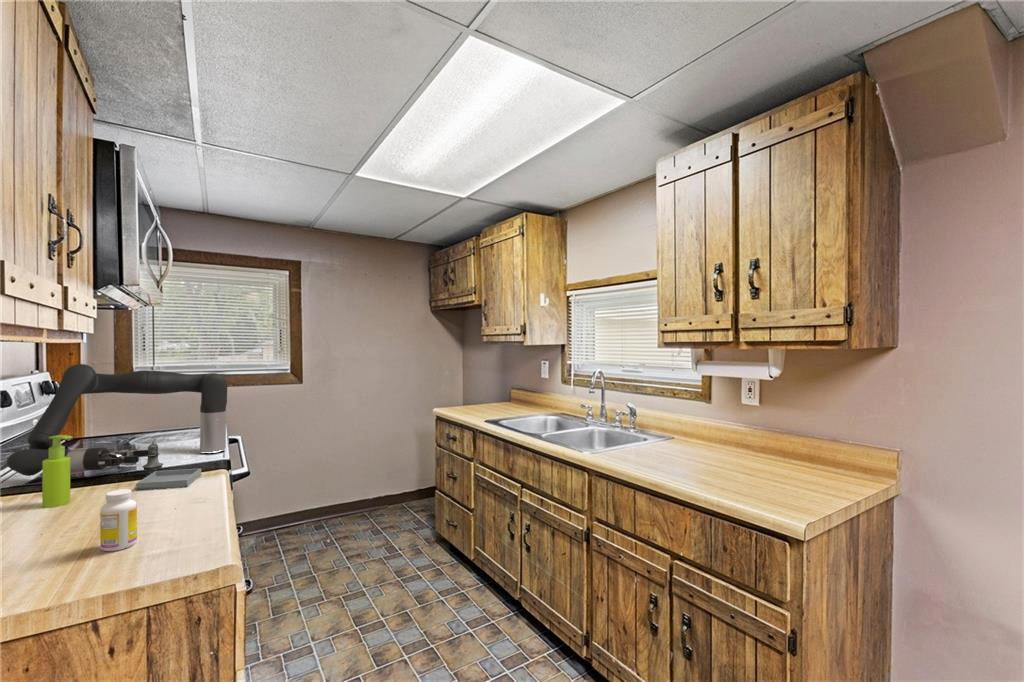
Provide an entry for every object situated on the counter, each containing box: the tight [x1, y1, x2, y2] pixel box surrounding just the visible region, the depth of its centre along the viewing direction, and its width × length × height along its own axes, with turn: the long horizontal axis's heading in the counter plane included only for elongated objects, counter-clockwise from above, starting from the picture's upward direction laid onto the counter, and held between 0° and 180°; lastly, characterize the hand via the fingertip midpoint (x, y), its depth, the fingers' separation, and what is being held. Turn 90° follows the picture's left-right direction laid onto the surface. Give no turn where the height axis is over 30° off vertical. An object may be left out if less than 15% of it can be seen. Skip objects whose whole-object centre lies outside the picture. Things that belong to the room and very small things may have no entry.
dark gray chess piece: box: [142, 441, 164, 471], centre depth 167 cm, size 6×6×12 cm
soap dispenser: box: [41, 434, 74, 508], centre depth 138 cm, size 6×7×20 cm
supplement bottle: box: [99, 488, 138, 552], centre depth 112 cm, size 7×7×13 cm
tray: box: [135, 468, 202, 492], centre depth 159 cm, size 14×14×2 cm
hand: (143, 456), depth 167 cm, fingers open, 8 cm apart
